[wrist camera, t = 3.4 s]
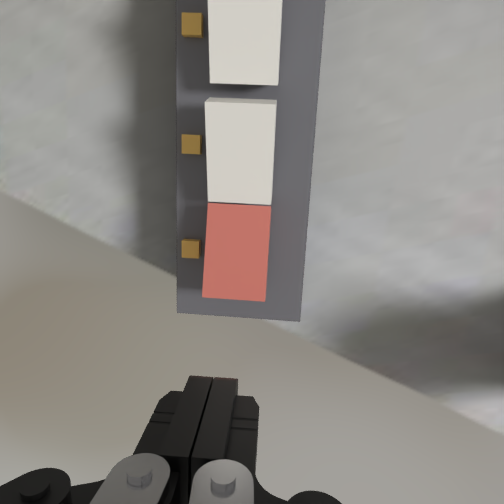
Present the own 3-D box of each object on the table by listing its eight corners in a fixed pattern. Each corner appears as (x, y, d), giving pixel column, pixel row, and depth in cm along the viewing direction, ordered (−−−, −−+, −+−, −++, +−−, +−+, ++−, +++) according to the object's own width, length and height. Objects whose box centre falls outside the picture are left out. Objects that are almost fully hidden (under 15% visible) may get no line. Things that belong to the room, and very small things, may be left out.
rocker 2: (209, 97, 24) (204, 101, 23) (276, 99, 24) (275, 104, 22) (212, 192, 27) (208, 201, 26) (272, 195, 27) (270, 205, 25)
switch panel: (190, -38, 27) (171, -78, 23) (324, -36, 27) (332, -77, 22) (189, 293, 33) (173, 318, 29) (298, 301, 33) (300, 327, 28)
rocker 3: (212, 206, 27) (207, 202, 26) (271, 209, 27) (270, 206, 25) (206, 294, 27) (201, 297, 26) (265, 299, 27) (264, 301, 25)
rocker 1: (211, -38, 22) (206, -42, 21) (284, -37, 22) (283, -41, 21) (214, 79, 25) (209, 83, 24) (278, 82, 25) (277, 85, 24)
